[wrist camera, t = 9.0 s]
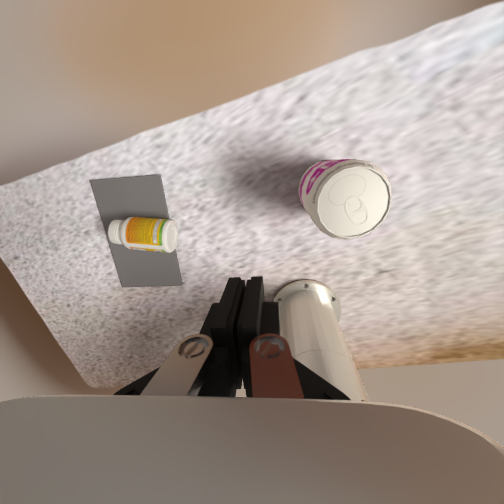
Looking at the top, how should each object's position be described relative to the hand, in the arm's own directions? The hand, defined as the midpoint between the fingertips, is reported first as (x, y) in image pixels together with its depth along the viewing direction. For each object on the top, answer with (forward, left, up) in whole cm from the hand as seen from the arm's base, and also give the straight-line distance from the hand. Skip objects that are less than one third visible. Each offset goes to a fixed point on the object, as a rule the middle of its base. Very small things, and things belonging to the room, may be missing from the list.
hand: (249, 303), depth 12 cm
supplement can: (+2, -9, -29) cm, 31 cm away
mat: (-4, +23, -29) cm, 37 cm away
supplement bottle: (-4, +15, -26) cm, 30 cm away
